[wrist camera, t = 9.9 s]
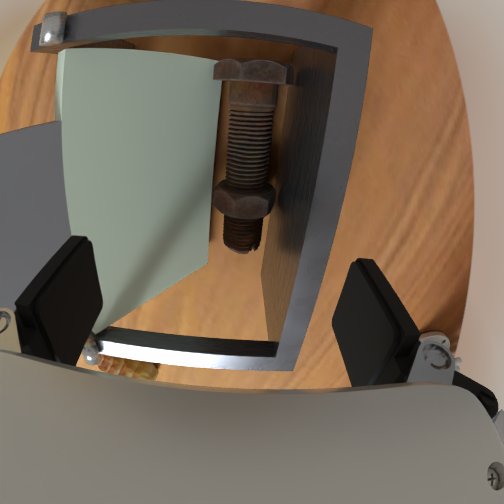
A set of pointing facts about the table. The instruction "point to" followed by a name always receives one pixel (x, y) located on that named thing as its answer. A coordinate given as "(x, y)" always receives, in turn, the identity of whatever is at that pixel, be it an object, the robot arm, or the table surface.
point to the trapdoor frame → (288, 169)
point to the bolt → (248, 148)
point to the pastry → (128, 367)
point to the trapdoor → (114, 175)
